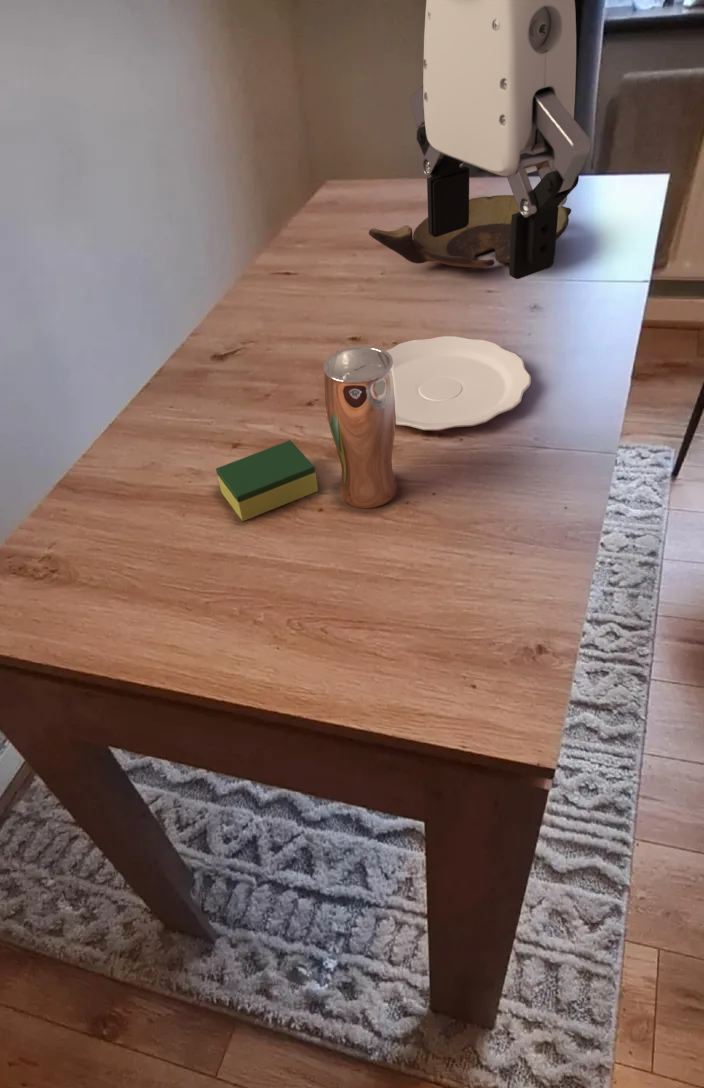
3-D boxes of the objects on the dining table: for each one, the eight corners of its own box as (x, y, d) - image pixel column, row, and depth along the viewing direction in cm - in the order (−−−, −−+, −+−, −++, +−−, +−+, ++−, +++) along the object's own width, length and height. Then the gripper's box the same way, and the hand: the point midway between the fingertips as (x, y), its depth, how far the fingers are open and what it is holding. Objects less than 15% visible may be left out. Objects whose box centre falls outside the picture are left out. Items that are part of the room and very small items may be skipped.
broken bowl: (580, 281, 114) (586, 225, 108) (370, 295, 118) (366, 242, 112) (560, 220, 129) (565, 169, 124) (375, 235, 133) (373, 186, 128)
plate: (496, 454, 87) (497, 441, 86) (326, 422, 95) (325, 410, 94) (549, 360, 99) (550, 348, 98) (395, 339, 108) (394, 327, 106)
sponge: (294, 464, 90) (290, 439, 88) (318, 491, 86) (314, 466, 84) (221, 492, 88) (215, 468, 85) (242, 521, 84) (236, 497, 81)
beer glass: (328, 507, 84) (311, 380, 73) (346, 468, 88) (333, 343, 78) (393, 514, 82) (385, 385, 71) (407, 474, 86) (402, 346, 76)
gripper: (664, -75, 39) (616, 273, 51) (463, -80, 50) (462, 204, 62) (538, -45, 37) (519, 309, 49) (359, -57, 49) (379, 231, 61)
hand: (487, 250), depth 56 cm, fingers open, 9 cm apart
